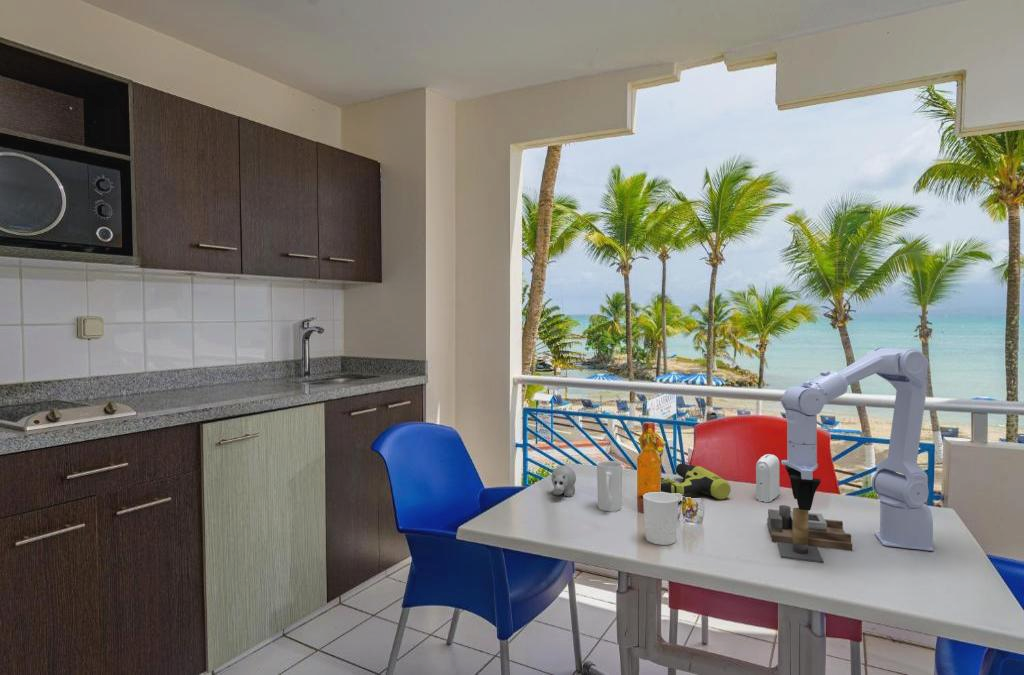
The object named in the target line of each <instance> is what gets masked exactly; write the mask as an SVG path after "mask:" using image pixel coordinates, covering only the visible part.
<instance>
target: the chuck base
mask: <svg viewBox="0 0 1024 675" xmlns="http://www.w3.org/2000/svg"><path fill="white" fill-rule="evenodd" d="M778 506H779V507H778V509H772V508H771V509H767V514H768V515H767V519H766V520H767V521H766V522H767V523H766V524H767V529H768V532H769V536H770V539H771V542H773V543H777V542H781V543H790V544H793V533H792V531H791V528H790V520H791V511H792V509H791V506H789V505H786V504H780V505H778ZM824 519H825V518H824ZM825 521H826V523H827V531H820V530H810V529H808V546H816V547H817V548H825V549H832V550H833V549H834V550H840V551H841V550H843V551H849V552H850V551H851V552H853V543H852V534H851V533H847V532H845V530H844V529H843V528H844V522H843V521H842V520H835V519H825Z"/></svg>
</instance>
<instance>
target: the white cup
mask: <svg viewBox="0 0 1024 675" xmlns="http://www.w3.org/2000/svg"><path fill="white" fill-rule="evenodd" d="M642 502H643V503H642V504H643V520H644V531H645V532H644V533H645V539H646V541H647V542H649V543H650V544H654V545H660V546H669V545H672V544H674V543H676V541H677V529H678V516H679V515H678V513H679V502H678V497H677V496H676V495H674V494H671V493H666V492H648V493H645V494H644V495H642Z"/></svg>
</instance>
